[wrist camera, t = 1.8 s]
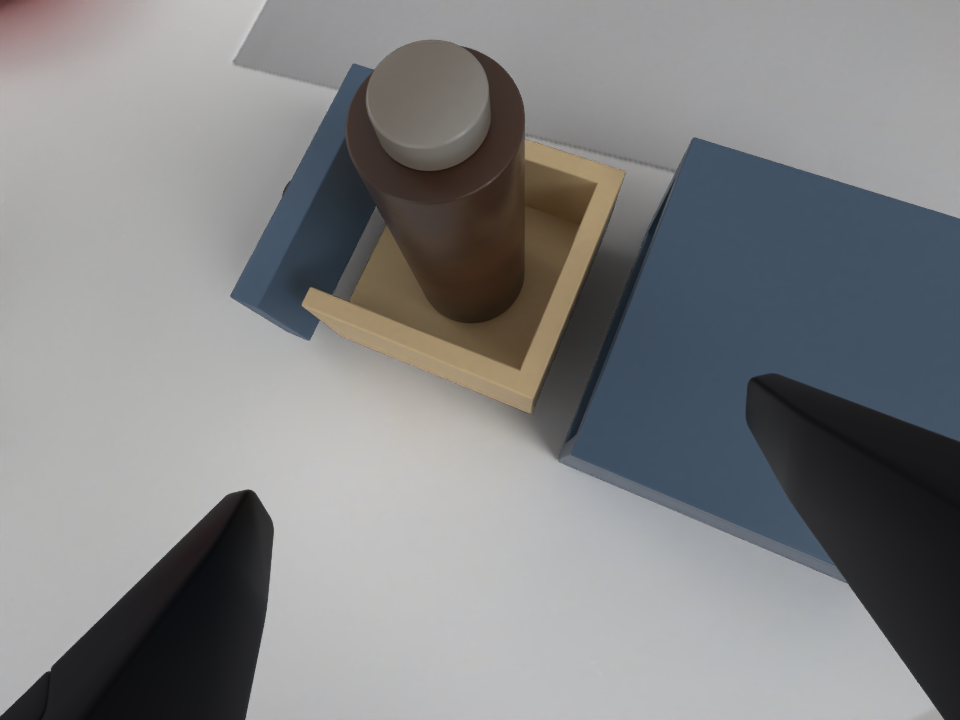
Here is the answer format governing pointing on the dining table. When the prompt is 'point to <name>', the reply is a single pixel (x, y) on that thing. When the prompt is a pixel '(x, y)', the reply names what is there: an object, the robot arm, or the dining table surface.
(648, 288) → the cabinet
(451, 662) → the dining table surface
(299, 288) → the drawer
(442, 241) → the pepper mill
